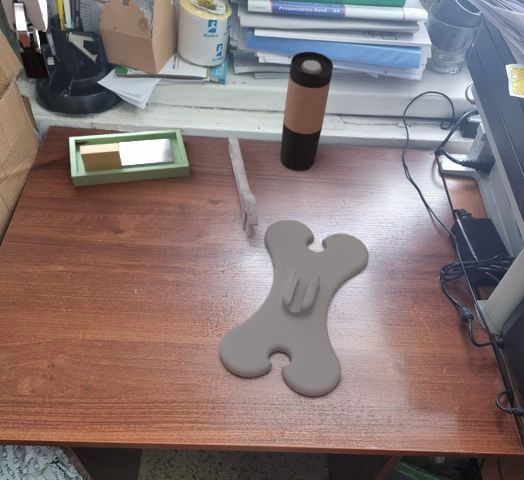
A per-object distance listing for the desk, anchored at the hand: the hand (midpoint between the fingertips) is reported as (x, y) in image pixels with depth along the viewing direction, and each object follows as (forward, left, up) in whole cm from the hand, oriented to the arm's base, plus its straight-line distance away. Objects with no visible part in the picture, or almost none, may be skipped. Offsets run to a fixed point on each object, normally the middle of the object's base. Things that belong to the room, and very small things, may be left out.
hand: (38, 60), depth 79 cm
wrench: (+26, -20, -22) cm, 40 cm away
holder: (+19, -48, -22) cm, 56 cm away
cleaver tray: (+12, -1, -22) cm, 25 cm away
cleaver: (+11, -1, -21) cm, 24 cm away
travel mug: (+42, -17, -22) cm, 50 cm away
